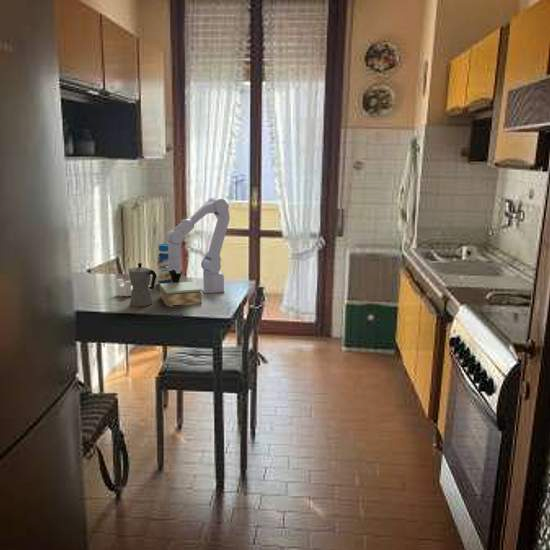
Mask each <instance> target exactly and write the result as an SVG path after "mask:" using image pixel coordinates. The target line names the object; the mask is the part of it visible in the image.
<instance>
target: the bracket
mask: <svg viewBox="0 0 550 550" xmlns="http://www.w3.org/2000/svg"><path fill="white" fill-rule="evenodd" d="M148 287H151V285H148ZM148 289H149V288H148ZM116 290H117V296H119V297H131V293H132V290H133V286H132V285H131V281H130V280H126V281H124V279H123V278H119V279H116ZM149 290H150V291H151V289H149Z"/></svg>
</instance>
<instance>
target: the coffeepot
mask: <svg viewBox="0 0 550 550" xmlns="http://www.w3.org/2000/svg"><path fill="white" fill-rule="evenodd" d="M137 265H138V267H137V266H136V267H133V268H128V269H127V271H128V274H129V281H131V286H133V290H132V293H131V296H130V302H129V304H130V305H131V306H132V307H136V306H143V307H148V306H147V305H149V306H151V305H152V304H153V299H152V295H151V290H154V286H155V284H156V280H157V275H158V274H157V273H156V271H154V269H153V270H152V269H150V268H148V267H143V263H141V262H139V263H137ZM151 276H152V278H151ZM148 286H150V287H148ZM148 288H149V289H150V290H149V289H148ZM150 304H151V305H150Z"/></svg>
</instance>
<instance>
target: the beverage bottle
mask: <svg viewBox="0 0 550 550" xmlns="http://www.w3.org/2000/svg"><path fill="white" fill-rule="evenodd" d="M158 252H159V253H158V255H157V263H156V264H157V275H158V277H157V278H158V280H157V283H158V285H160V284H162V283H172V279H171V276H170V273H169V272H168V271H170V270H172V269H167V268H166V266H169V255H168V243H160V244H158Z"/></svg>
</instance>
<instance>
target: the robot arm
mask: <svg viewBox="0 0 550 550" xmlns="http://www.w3.org/2000/svg"><path fill="white" fill-rule="evenodd" d="M229 207H230V206H229V204H228V203H227V201H226V200H225V199H224V198H216V197H211V198H209V199H208V200H207V201H205V202H204V204H203V205H202V206H201V207H200V208H198V210H197V211H196V212H195V213H194V214H193V215H192V216H191V217H189V218H185V219H181V220H180V222H179V224H178V225H177V226H174V227H173V229H172V230H169V231H168V232H167V233H166V236H165V239H166V240H167V244H168V255H169V266H166V268H167V269H172V270H170V271H168V272H169V273H170V276H171V279H172V283H176V282H180V278H181V276H182V273H183V271H182V268H183V265H182V243H183V240H184V237H186V236H187V235H188V234H189V233H190V232H192V231H193V230H194V229H195V224H197V223H198V222H199V221H200V220H202V219H203V218H204V217H206V215H208V214H214V216H215V217H216V219H217V221H216V224H215V226H214V227H215V228H214V230H213V231H214V232H213V234H212V239H211V242H210V244H209V245H210V246H209V248H208V251H207V252H206V253H205V255H204V258H202V261H201V262H200V266H201V268H202V270H203V272H202V273H203V274H202V276H203V278H202V279H203V280H202V281H203V285H202V287H203V288H200V289H201V292H203V293H205V294H214V293H216V294H217V293H223V292H225V276H224V273H223V272H221V267H222V265H221V262H222V258H221V251H222V247H223V244H224V241H225V237H226V233H227V229H228V227H229V222H230V211H229Z"/></svg>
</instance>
